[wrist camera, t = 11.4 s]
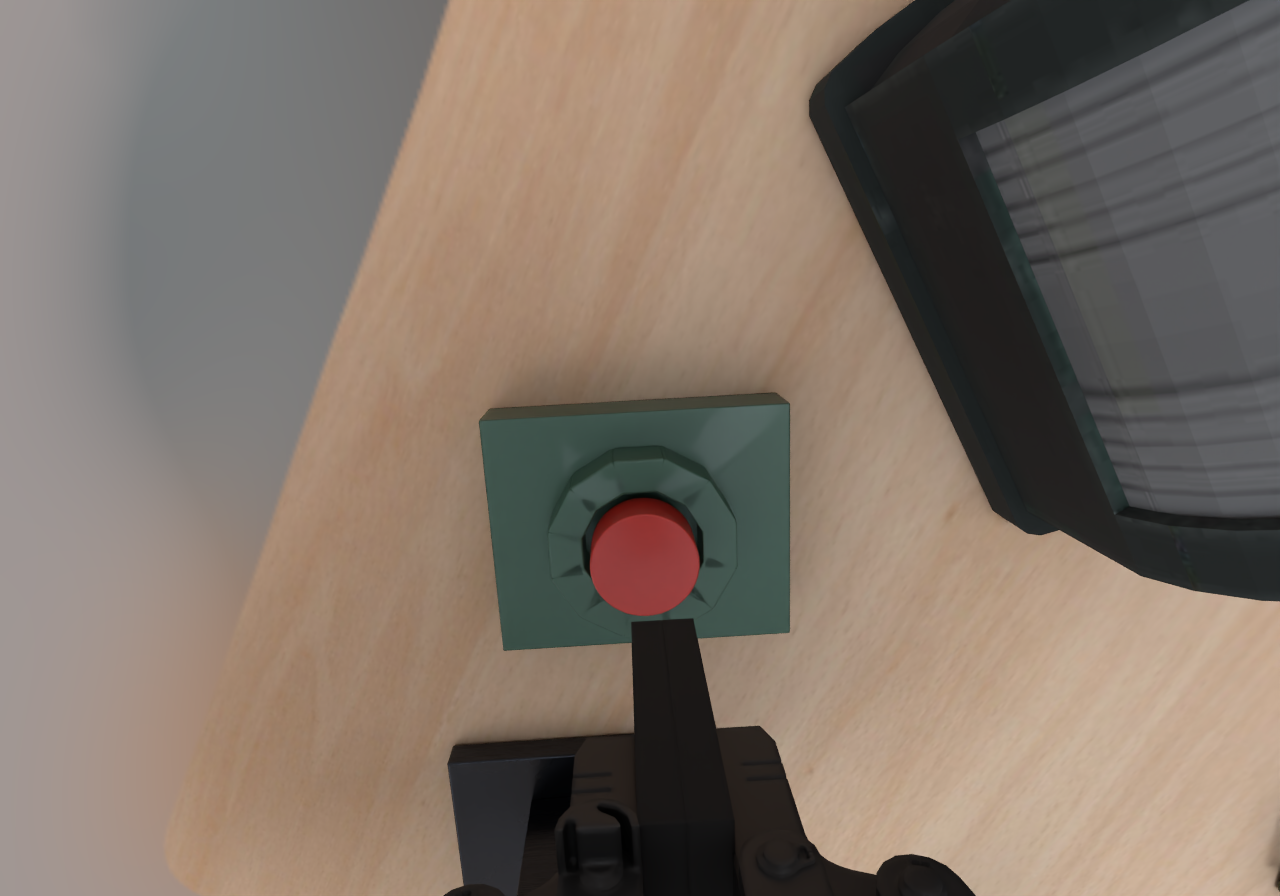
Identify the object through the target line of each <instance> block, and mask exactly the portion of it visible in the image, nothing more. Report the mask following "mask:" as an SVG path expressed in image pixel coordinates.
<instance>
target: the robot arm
mask: <svg viewBox="0 0 1280 896" xmlns="http://www.w3.org/2000/svg"><path fill="white" fill-rule="evenodd" d="M631 634H632V666H633V699H634V732H635V735H629V736H613V737H596V738H586V740H585V741H584V743H583V744H582V746H581V747H580V749H579V750H578V751H577V753H576V754H575V759H574V770H573V781H572V794H571V803H570V808H569V809H568V810H567V811H566V812H565V813H564V814H563V815H562V816H561V817H560V818H559V819H558V822H557V825H556V828H555V830H554V833H555V843H556V854H557V865H558V871H557V872H556V874H555V875H554V876H553V877H552V878H551V879H550V880H549V881H547V882H546V883H545V884H543V885H542V886H540V887H539V888H537V889H534V890H532V891H530V892H528V893H525V894H522V895H520V896H975V894H974V893H973V892H972V891H971V890H970V889H969V887H968V886H967V885H966V884H965V883H964V882H963V880H962V879H961V878H960V877H959V876H958V875H956V874H955V873H954V872H953V871H952V870H951V869H950V868H948V867H947V866H946V865H944V864H942V863H940V862H938V861H935V860H933V859H931V858H929V857H924V856H919V855H914V854H909V855H898V856H895V857H893V858H891V859H889V860H887V861H885V862H883V864H882V865H881V867H880V868H879V870H878V871H877V875H874V874H869V873H864V872H859V871H854V870H851V869H847V868H844V867H841V866H838V865H836V864H834V863H832V862H830V861H828V860H827V859H825V858H824V857H823V856H821V855H820V853H819V852H818V850H817V848H816V847H815V845H814V844H812V843H811V842H810V841H809V840H808V839H807V837H806V835H805V832H804V829H803V826H802V823H801V820H800V817H799V814H798V811H797V807H796V804H795V801H794V798H793V795H792V792H791V789H790V786H789V783H788V780H787V779H786V773H785V770H784V767H783V764H782V763H781V758H780V755H779V752H778V749H777V746H776V742H775V741H774V740H773V739H772V738H771V737H770V736H769V735H768V734H767V733H766V732H765V731H764V730H763V729H762V728H761V727H760V726H748V727H732V728H716V726H715V721H714V717H713V712H712V707H711V702H710V697H709V692H708V687H707V682H706V678H705V673H704V668H703V663H702V658H701V653H700V648H699V644H698V639H697V634H696V629H695V624H694V619H693V618H688V619H671V620H654V621H636V622H631ZM444 896H505V895H504V894H503V893H502V892H501V891H500V890H499V889H498V888H495V887H492V886H489V885H486V884H468V885H465V886H462V887H459V888H456V889H453V890H451V891H449V892H448V893H447V894H445V895H444Z"/></svg>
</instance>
